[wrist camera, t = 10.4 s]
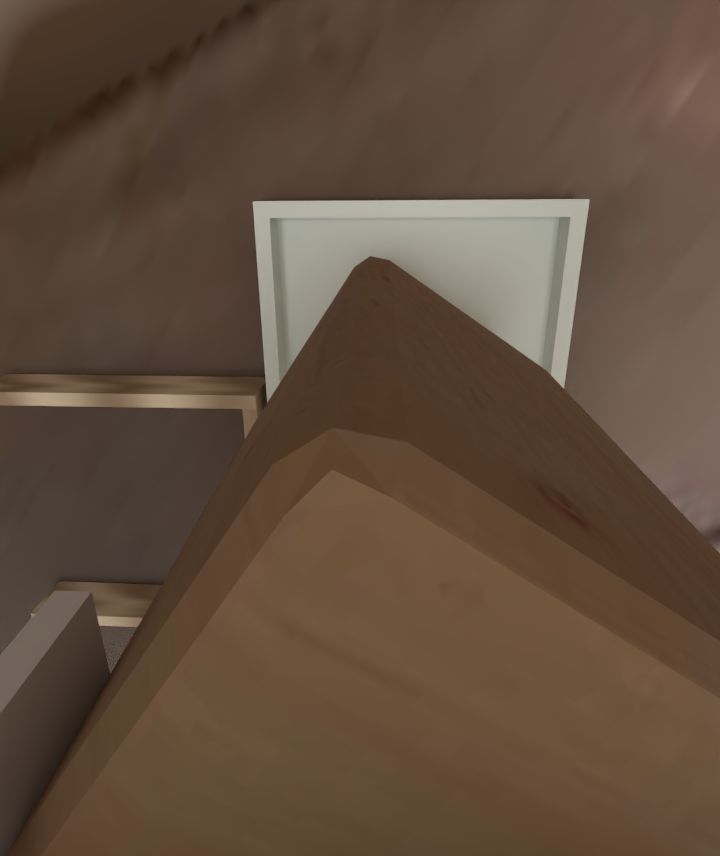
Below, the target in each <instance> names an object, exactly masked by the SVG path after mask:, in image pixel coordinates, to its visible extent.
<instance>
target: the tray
mask: <svg viewBox="0 0 720 856" xmlns="http://www.w3.org/2000/svg"><path fill="white" fill-rule="evenodd" d="M589 200H590V199H481V200H324V201H253V212H254V226H255V240H256V254H257V268H258V282H259V296H260V310H261V324H262V338H263V351H264V365H265V379H266V393H267V402H268V401H269V399H270V398H271V396H272V394H273V393H274V391H275V390H276V388H277V387H278V385H279V384H280V382H281V380H282V379H283V377H284V376H285V374H286V373H287V371H288V370H289V368H290V366H291V365H292V363H293V362H294V360H295V359H296V357H297V355H298V354H299V352H300V351H301V349H302V348H303V346H304V345H305V343H306V341H307V340H308V338H309V337H310V335H311V334H312V332H313V331H314V329H315V327H316V326H317V324H318V323H319V321H320V320H321V318H322V317H323V315H324V313H325V312H326V310H327V309H328V307H329V306H330V304H331V303H332V301H333V299H334V298H335V296H336V295H337V293H338V292H339V290H340V288H341V287H342V285H343V284H344V282H345V281H346V279H347V278H348V276H349V274H350V273H351V271H352V270H353V268H354V267H355V266H357V265H358V264H360V263H361V262H362V261H364V260H365V259H367V258H368V257H370V256H372V257H377V258H382V259H387V260H390V261H391V262H393V263H394V264H396V265H397V266H399V267H400V268H401V269H403V270H404V271H406V272H407V273H409V274H410V275H411V276H413V277H414V278H416V279H417V280H418V281H420V282H421V283H423V284H424V285H426V286H427V287H428V288H430V289H431V290H433V291H434V292H436V293H437V294H438V295H440V296H441V297H443V298H444V299H446V300H447V301H448V302H450V303H451V304H453V305H454V306H455V307H457V308H458V309H460V310H461V311H463V312H464V313H465V314H467V315H468V316H470V317H471V318H473V319H474V320H475V321H477V322H478V323H480V324H481V325H482V326H484V327H485V328H487V329H488V330H490V331H491V332H492V333H494V334H495V335H497V336H498V337H500V338H501V339H502V340H504V341H505V342H507V343H508V344H510V345H511V346H512V347H514V348H515V349H517V350H518V351H519V352H521V353H522V354H524V355H525V356H527V357H528V358H529V359H531V360H532V361H534V362H535V363H537V364H538V365H539V366H541V367H542V368H544V369H545V370H547V371H548V373H549V374H550V375H551V376H552V377H553V378H554V379H555V380H556V381H557V382H558V383H559V384H560V385H561V386H562V387H563V388H564V384H565V377H566V370H567V362H568V355H569V347H570V340H571V333H572V325H573V318H574V311H575V303H576V296H577V288H578V281H579V274H580V266H581V259H582V251H583V244H584V237H585V229H586V222H587V215H588V207H589Z"/></svg>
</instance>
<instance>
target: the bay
mask: <svg viewBox="0 0 720 856" xmlns="http://www.w3.org/2000/svg"><path fill="white" fill-rule="evenodd" d="M266 404H267V393H266V379H265V377H218V376H138V375H57V374H6V375H4V376H2V377H0V405H18V406H82V407H145V408H208V409H242V412H243V423H244V434H245V438H246V437H247V435H248V433H249V431H250V430H251V428H252V426H253V424H254V423H255V421H256V419H257V418H258V416H259V415H260V413H261V412H262V410H263V408H264V407H265V405H266ZM160 587H161V585H155V584H127V583H98V582H69V581H59V582H58V583H57V584H56V585H55V587H54V588H53V589H52V590H51V591H50V592H49V593H48V594H47V596H46V597H45V598H44V599H43V600H42V601H41V602H40V604H39V605H38V606H37V607H36V608H35V609H34V610H33V612H32V613H31V616H32V617H33V616H34V615H35V613H36V612H37V611H38V610H39V609H40V607H41V606H42V605H43V604H44V603H45V602H46V600H47V599H48V598H49V597H50V596H51V594H52V593H53V592H54V591H90V592H92V596H93V600H94V605H95V609H96V614H97V618H98V622H99V626H123V627H138V625H139V624H140V622H141V620H142V618H143V617H144V615H145V613H146V611H147V610H148V608H149V606H150V604H151V603H152V601H153V599H154V597H155V596H156V594H157V592H158V590H159V589H160Z"/></svg>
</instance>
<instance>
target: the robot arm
mask: <svg viewBox="0 0 720 856" xmlns="http://www.w3.org/2000/svg"><path fill="white" fill-rule="evenodd" d="M109 676H110V672H109V667H108V663H107V658H106V654H105V649H104V645H103V640H102V636H101V631H100V627H99V622H98V618H97V614H96V609H95V605H94V600H93V596H92V592H90V591H54V592H53V593H52V594H51V596H50V597H49V598H48V599H47V600H46V602H45V603H44V604H43V605H42V606H41V607H40V609H39V610H38V611H37V612H36V613H35V615H34V616H33V617H32V618H31V619H30V620H29V622H28V623H27V624H26V625H25V626H24V628H23V629H22V630H21V631H20V632H19V633H18V635H17V636H16V637H15V638H14V639H13V641H12V642H11V643H10V644H9V645H8V646H7V648H6V649H5V650H4V651H3V652H2V654H1V655H0V856H7V855H8V853H9V851H10V849H11V848H12V846H13V844H14V842H15V841H16V839H17V837H18V835H19V834H20V832H21V830H22V828H23V827H24V825H25V823H26V821H27V820H28V818H29V816H30V814H31V813H32V811H33V809H34V807H35V806H36V804H37V802H38V800H39V799H40V797H41V795H42V793H43V792H44V790H45V788H46V786H47V785H48V783H49V781H50V779H51V778H52V776H53V774H54V772H55V771H56V769H57V767H58V765H59V764H60V762H61V760H62V758H63V757H64V755H65V753H66V751H67V750H68V748H69V746H70V744H71V743H72V741H73V739H74V737H75V736H76V734H77V732H78V730H79V729H80V727H81V725H82V723H83V722H84V720H85V718H86V716H87V715H88V713H89V711H90V709H91V708H92V706H93V704H94V702H95V701H96V699H97V697H98V695H99V694H100V692H101V690H102V688H103V687H104V685H105V683H106V681H107V680H108V678H109Z"/></svg>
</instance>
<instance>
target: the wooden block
mask: <svg viewBox="0 0 720 856" xmlns="http://www.w3.org/2000/svg"><path fill="white" fill-rule="evenodd" d="M7 856H720V553H719V552H718V551H717V550H716V549H715V548H714V547H713V546H712V545H711V544H710V543H709V542H708V541H707V540H706V539H705V538H704V536H703V535H702V534H701V533H700V532H699V531H698V530H697V529H696V528H695V527H694V526H693V525H692V524H691V523H690V522H689V521H688V520H687V518H686V517H685V516H684V515H683V514H682V513H681V512H680V511H679V510H678V509H677V508H676V507H675V506H674V505H673V504H672V503H671V502H670V501H669V499H668V498H667V497H666V496H665V495H664V494H663V493H662V492H661V491H660V490H659V489H658V488H657V487H656V486H655V485H654V484H653V483H652V481H651V480H650V479H649V478H648V477H647V476H646V475H645V474H644V473H643V472H642V471H641V470H640V469H639V468H638V467H637V466H636V465H635V464H634V462H633V461H632V460H631V459H630V458H629V457H628V456H627V455H626V454H625V453H624V452H623V451H622V450H621V449H620V448H619V447H618V446H617V444H616V443H615V442H614V441H613V440H612V439H611V438H610V437H609V436H608V435H607V434H606V433H605V432H604V431H603V430H602V429H601V428H600V426H599V425H598V424H597V423H596V422H595V421H594V420H593V419H592V418H591V417H590V416H589V415H588V414H587V413H586V412H585V411H584V410H583V409H582V407H581V406H580V405H579V404H578V403H577V402H576V401H575V400H574V399H573V398H572V397H571V396H570V395H569V394H568V393H567V392H566V391H565V389H564V388H563V387H562V386H561V385H560V384H559V383H558V382H557V381H556V380H555V379H554V378H553V377H552V376H551V375H550V374H549V373H548V371H547V370H545V369H544V368H542V367H541V366H539V365H538V364H537V363H535V362H534V361H532V360H531V359H529V358H528V357H527V356H525V355H524V354H522V353H521V352H519V351H518V350H517V349H515V348H514V347H512V346H511V345H510V344H508V343H507V342H505V341H504V340H502V339H501V338H500V337H498V336H497V335H495V334H494V333H492V332H491V331H490V330H488V329H487V328H485V327H484V326H482V325H481V324H480V323H478V322H477V321H475V320H474V319H473V318H471V317H470V316H468V315H467V314H465V313H464V312H463V311H461V310H460V309H458V308H457V307H455V306H454V305H453V304H451V303H450V302H448V301H447V300H446V299H444V298H443V297H441V296H440V295H438V294H437V293H436V292H434V291H433V290H431V289H430V288H428V287H427V286H426V285H424V284H423V283H421V282H420V281H418V280H417V279H416V278H414V277H413V276H411V275H410V274H409V273H407V272H406V271H404V270H403V269H401V268H400V267H399V266H397V265H396V264H394V263H393V262H391V261H390V260H387V259H382V258H377V257H372V256H370V257H368V258H367V259H365V260H364V261H362V262H361V263H360V264H358V265H357V266H355V267H354V268H353V270H352V271H351V273H350V274H349V276H348V278H347V279H346V281H345V282H344V284H343V285H342V287H341V288H340V290H339V292H338V293H337V295H336V296H335V298H334V299H333V301H332V303H331V304H330V306H329V307H328V309H327V310H326V312H325V313H324V315H323V317H322V318H321V320H320V321H319V323H318V324H317V326H316V327H315V329H314V331H313V332H312V334H311V335H310V337H309V338H308V340H307V341H306V343H305V345H304V346H303V348H302V349H301V351H300V352H299V354H298V355H297V357H296V359H295V360H294V362H293V363H292V365H291V366H290V368H289V370H288V371H287V373H286V374H285V376H284V377H283V379H282V380H281V382H280V384H279V385H278V387H277V388H276V390H275V391H274V393H273V394H272V396H271V398H270V399H269V401H268V402H267V404H266V405H265V407H264V408H263V410H262V412H261V413H260V415H259V416H258V418H257V419H256V421H255V423H254V424H253V426H252V428H251V430H250V431H249V433H248V435H247V437H246V438H245V440H244V442H243V444H242V445H241V447H240V449H239V451H238V452H237V454H236V456H235V458H234V459H233V461H232V463H231V465H230V466H229V468H228V470H227V472H226V473H225V475H224V477H223V479H222V480H221V482H220V484H219V485H218V487H217V489H216V491H215V492H214V494H213V496H212V498H211V499H210V501H209V503H208V505H207V506H206V508H205V510H204V512H203V513H202V515H201V517H200V519H199V520H198V522H197V524H196V526H195V527H194V529H193V531H192V533H191V534H190V536H189V538H188V540H187V541H186V543H185V545H184V547H183V548H182V550H181V552H180V554H179V555H178V557H177V559H176V561H175V562H174V564H173V566H172V568H171V569H170V571H169V573H168V575H167V576H166V578H165V580H164V582H163V583H162V585H161V587H160V589H159V590H158V592H157V594H156V596H155V597H154V599H153V601H152V603H151V604H150V606H149V608H148V610H147V611H146V613H145V615H144V617H143V618H142V620H141V622H140V624H139V625H138V627H137V629H136V631H135V632H134V634H133V636H132V638H131V639H130V641H129V643H128V645H127V646H126V648H125V650H124V652H123V653H122V655H121V657H120V659H119V660H118V662H117V664H116V666H115V667H114V669H113V671H112V673H111V674H110V676H109V678H108V680H107V681H106V683H105V685H104V687H103V688H102V690H101V692H100V694H99V695H98V697H97V699H96V701H95V702H94V704H93V706H92V708H91V709H90V711H89V713H88V715H87V716H86V718H85V720H84V722H83V723H82V725H81V727H80V729H79V730H78V732H77V734H76V736H75V737H74V739H73V741H72V743H71V744H70V746H69V748H68V750H67V751H66V753H65V755H64V757H63V758H62V760H61V762H60V764H59V765H58V767H57V769H56V771H55V772H54V774H53V776H52V778H51V779H50V781H49V783H48V785H47V786H46V788H45V790H44V792H43V793H42V795H41V797H40V799H39V800H38V802H37V804H36V806H35V807H34V809H33V811H32V813H31V814H30V816H29V818H28V820H27V821H26V823H25V825H24V827H23V828H22V830H21V832H20V834H19V835H18V837H17V839H16V841H15V842H14V844H13V846H12V848H11V849H10V851H9V853H8V855H7Z"/></svg>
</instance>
